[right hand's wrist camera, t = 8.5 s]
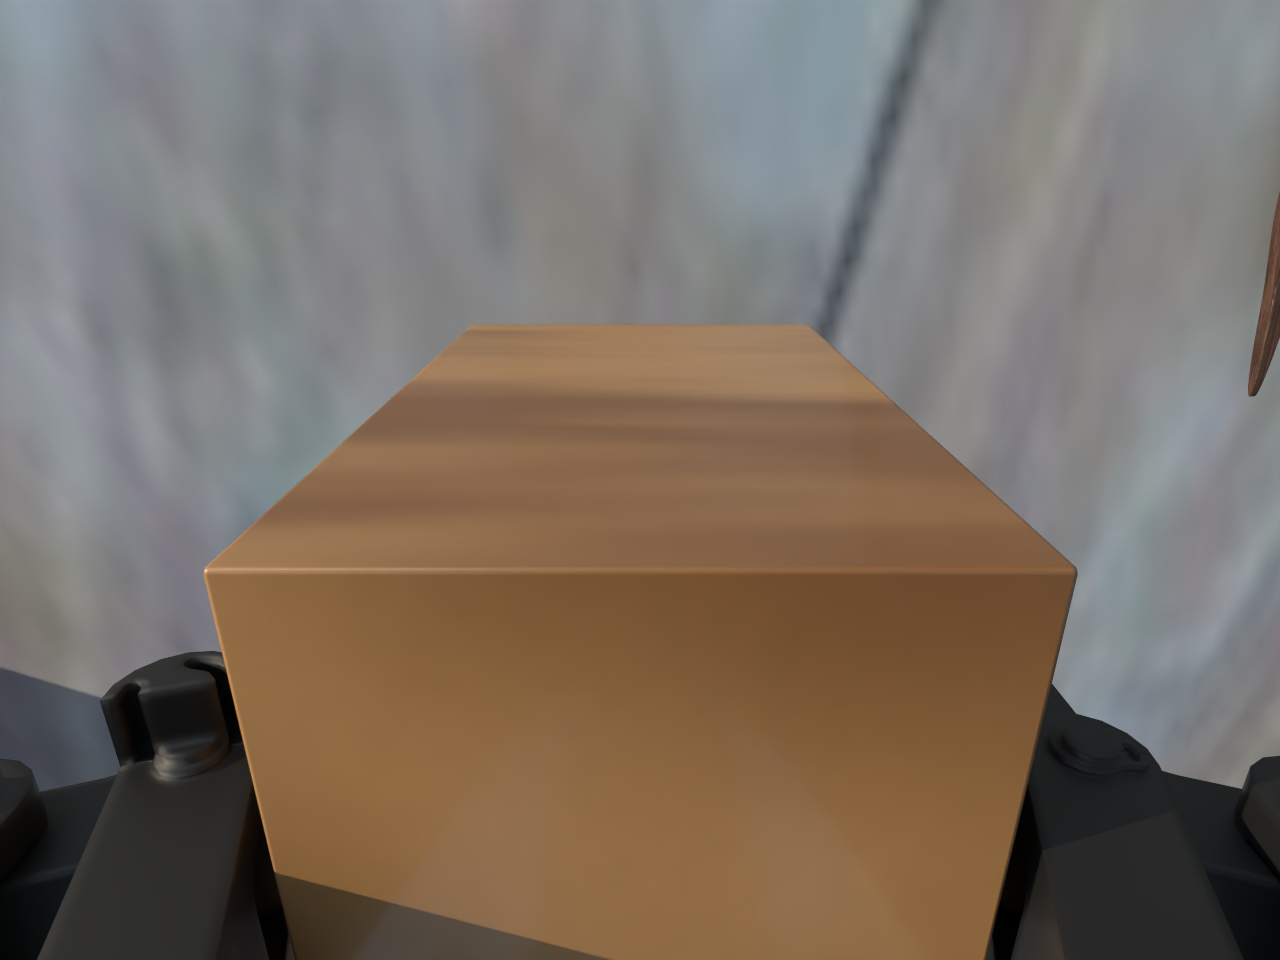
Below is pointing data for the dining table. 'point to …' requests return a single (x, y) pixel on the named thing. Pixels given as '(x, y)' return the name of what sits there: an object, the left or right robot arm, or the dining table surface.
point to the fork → (1267, 313)
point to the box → (640, 661)
